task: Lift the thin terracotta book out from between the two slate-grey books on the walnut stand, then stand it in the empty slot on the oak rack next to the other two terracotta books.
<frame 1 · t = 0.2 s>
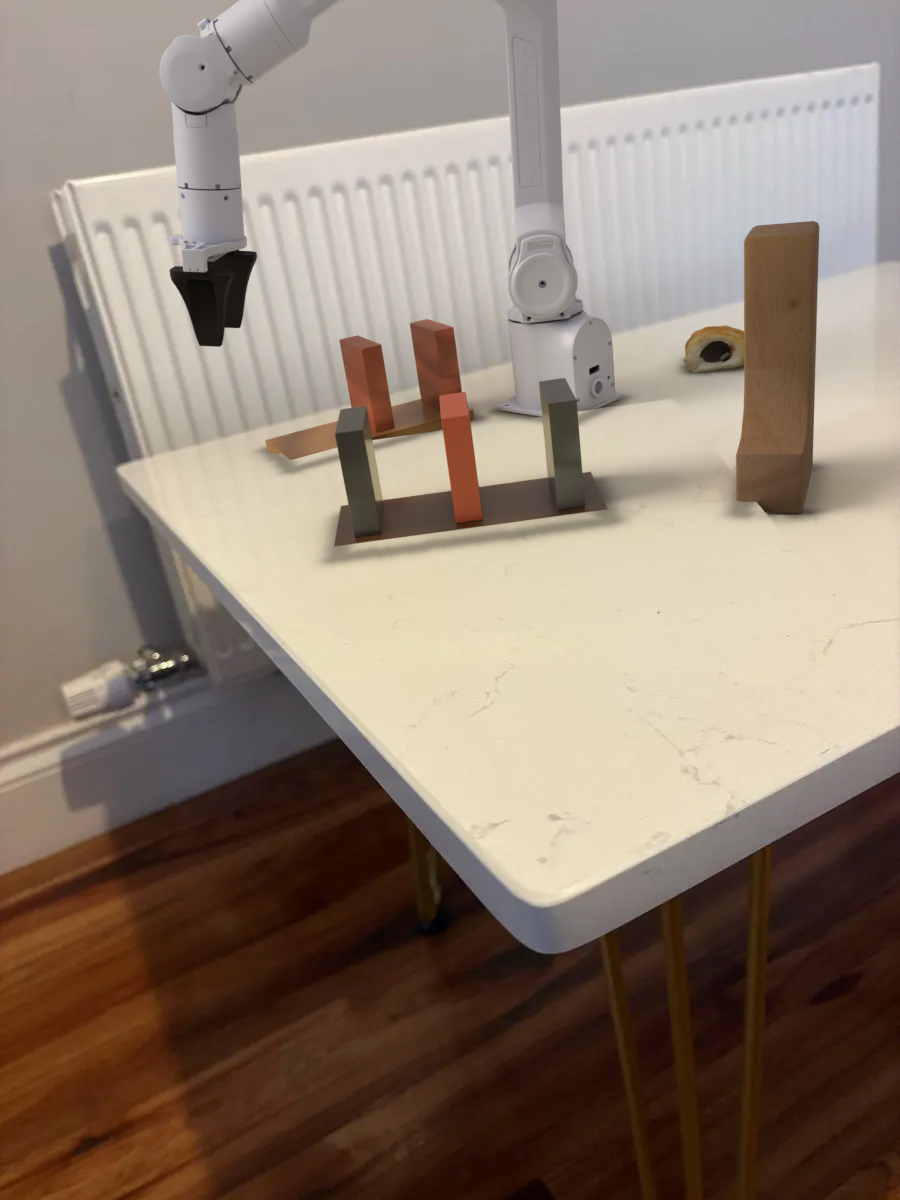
hand: (220, 336, 100), 11 cm above the table, tool pointing down, fingers open, 7 cm apart
grey book stand: (469, 519, 78), on the table
book rack: (375, 433, 101), on the table
terracotta book: (467, 507, 78), point 1 cm above the table, touching grey book stand
pastry: (716, 363, 107), on the table
wooden block: (775, 492, 75), on the table
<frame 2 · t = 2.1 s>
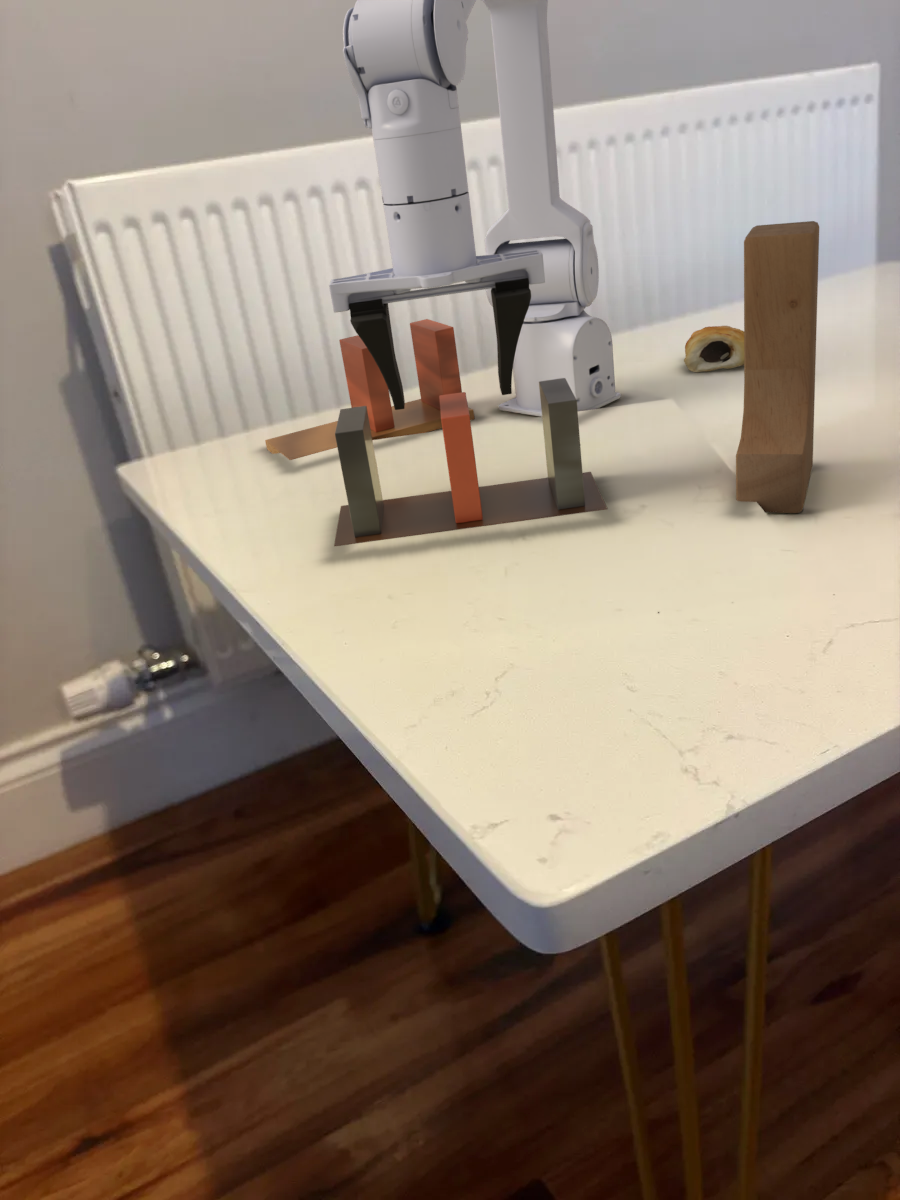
hand: (452, 398, 74), 9 cm above the table, tool pointing down, fingers open, 7 cm apart
nothing on the table moved.
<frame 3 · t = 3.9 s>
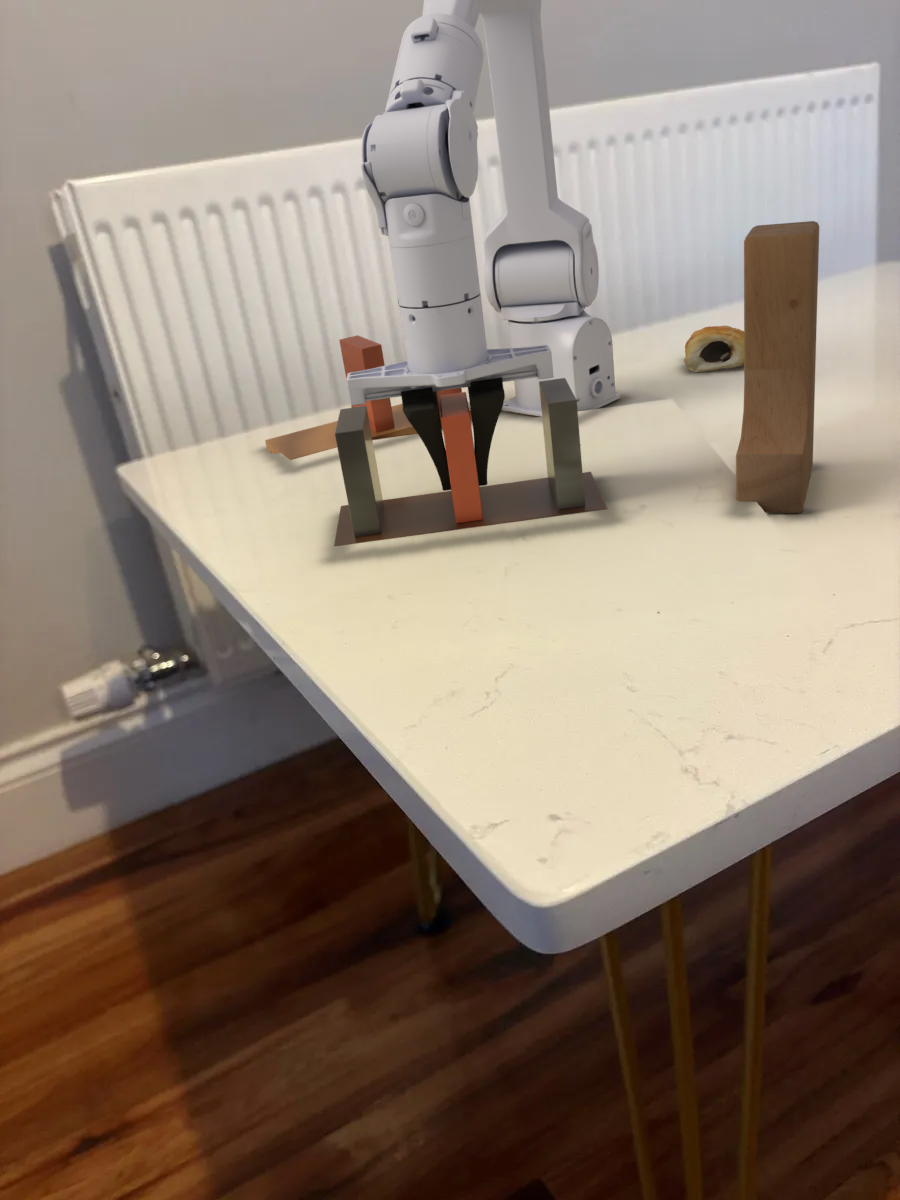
hand: (464, 483, 77), 3 cm above the table, tool pointing down, fingers closed on terracotta book, 2 cm apart
terracotta book: (467, 507, 78), point 1 cm above the table, touching grey book stand, gripper
everything else where it was.
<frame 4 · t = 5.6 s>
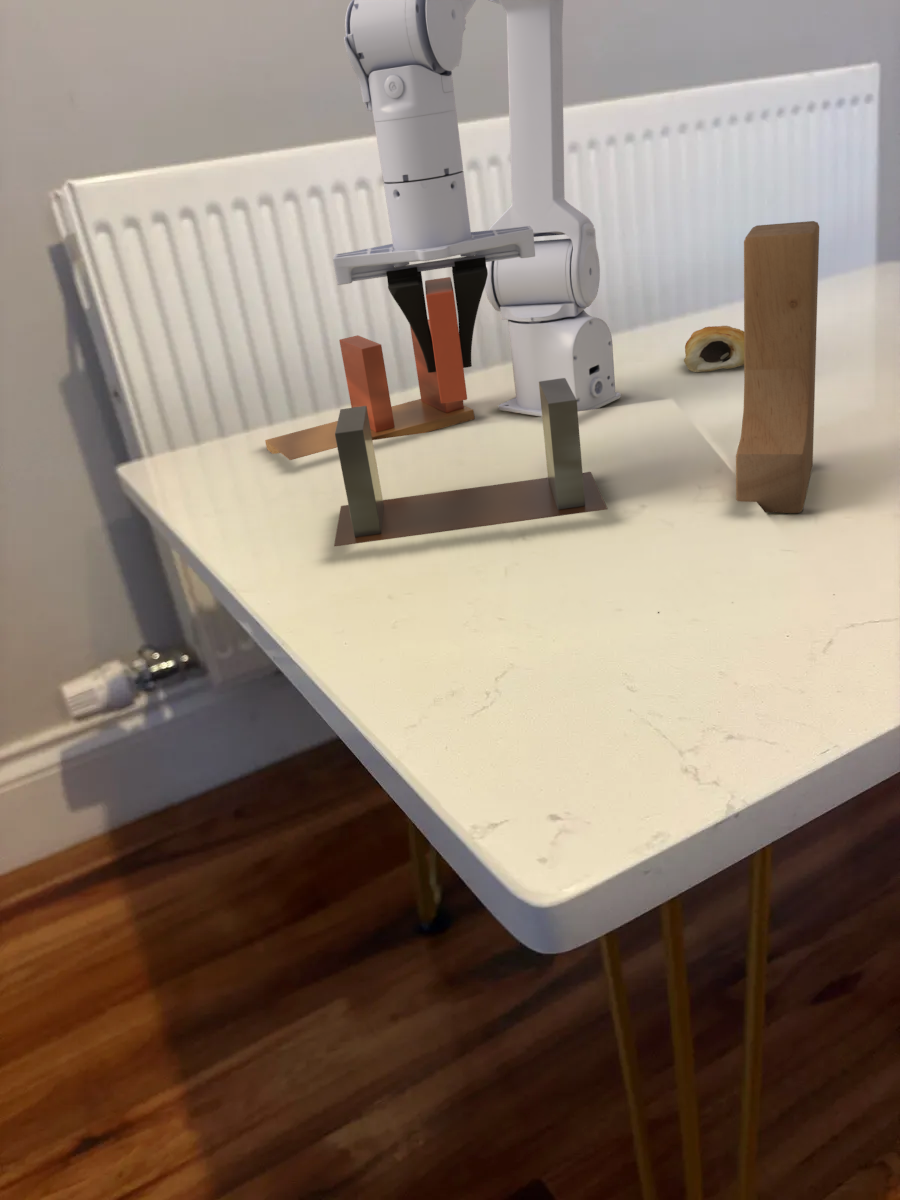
hand: (449, 366, 78), 10 cm above the table, tool pointing down, fingers closed on terracotta book
terracotta book: (452, 391, 79), point 8 cm above the table, touching gripper
everything else where it was.
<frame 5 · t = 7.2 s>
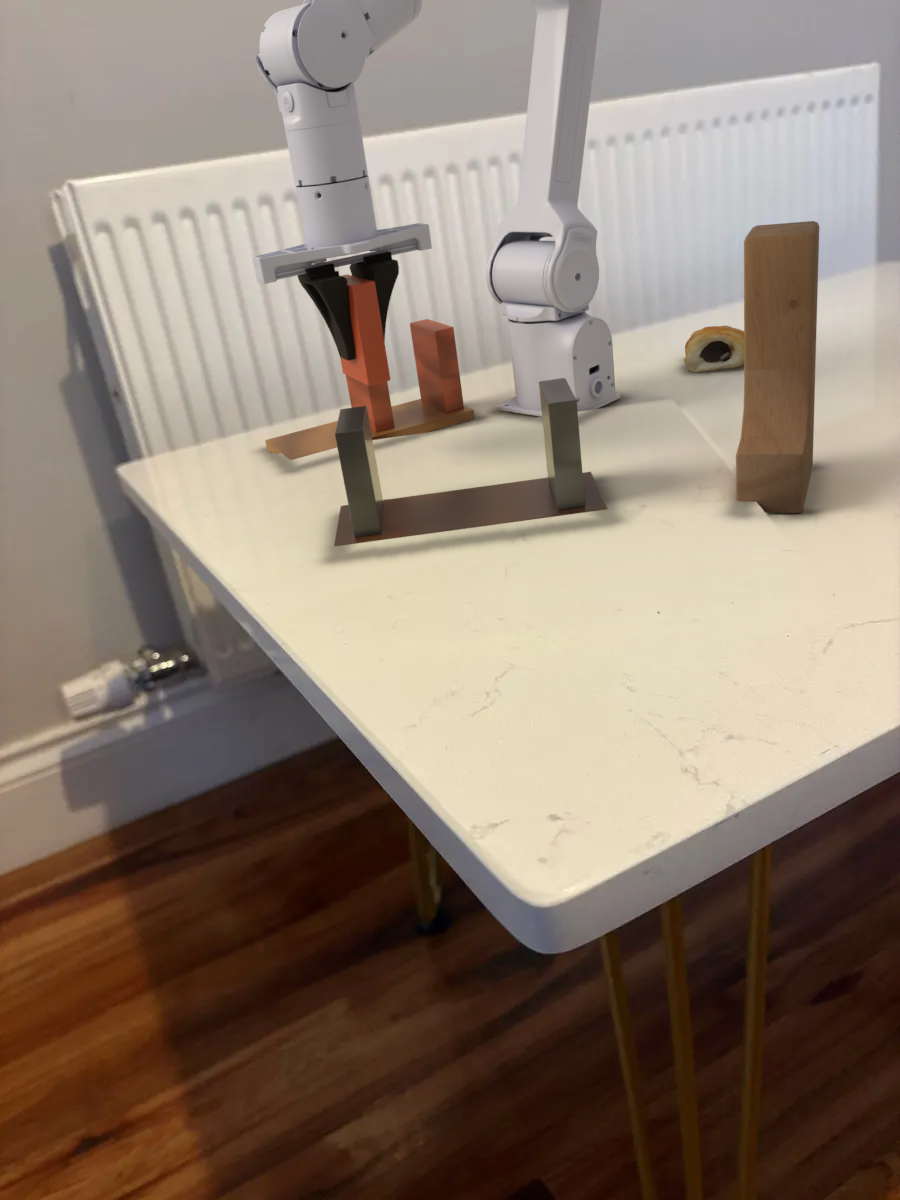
hand: (362, 354, 86), 10 cm above the table, tool pointing down, fingers closed on terracotta book
terracotta book: (366, 376, 87), point 8 cm above the table, touching gripper
everything else where it was.
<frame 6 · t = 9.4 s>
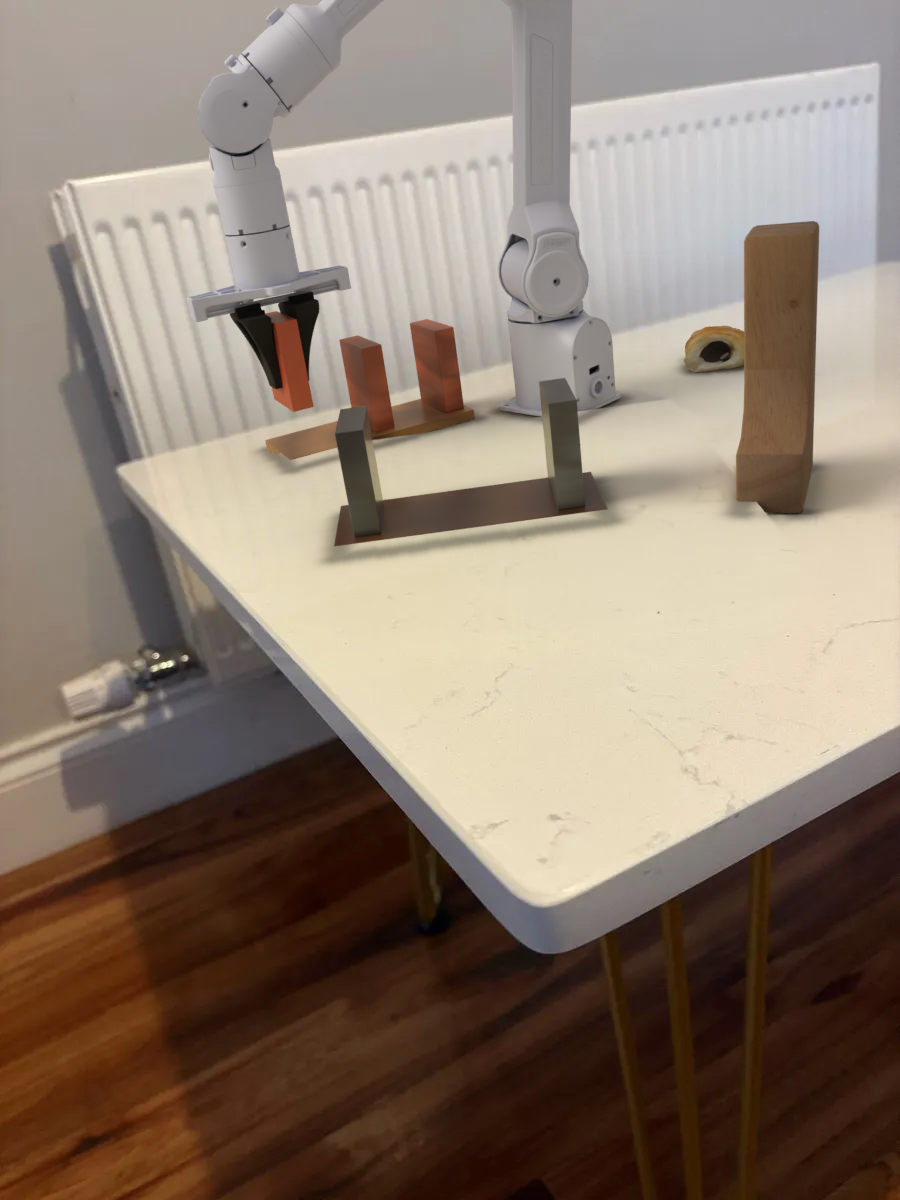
hand: (289, 383, 95), 7 cm above the table, tool pointing down, fingers closed on terracotta book
terracotta book: (293, 403, 96), point 5 cm above the table, touching gripper
everything else where it was.
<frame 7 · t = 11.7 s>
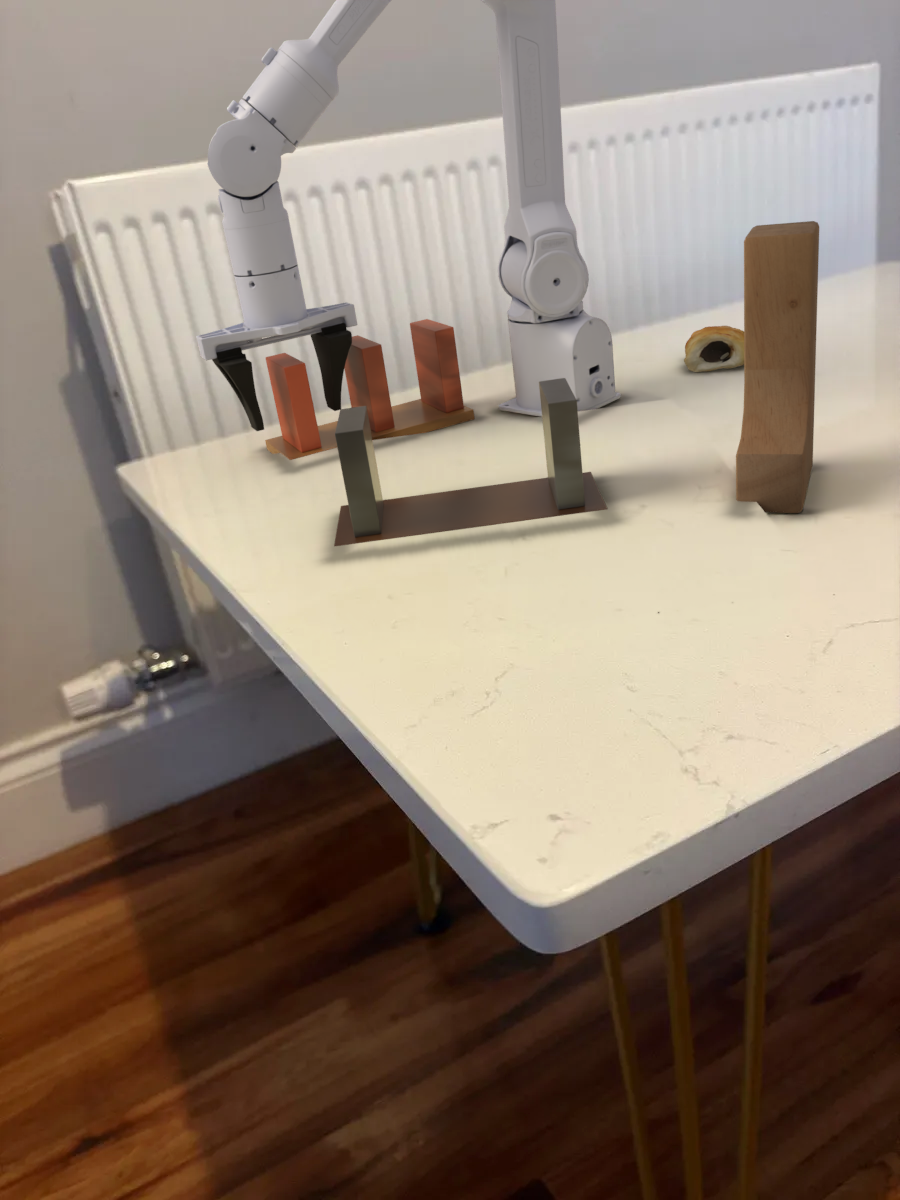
hand: (296, 418, 97), 3 cm above the table, tool pointing down, fingers open, 7 cm apart
terracotta book: (301, 442, 98), point 1 cm above the table, touching book rack
everything else where it was.
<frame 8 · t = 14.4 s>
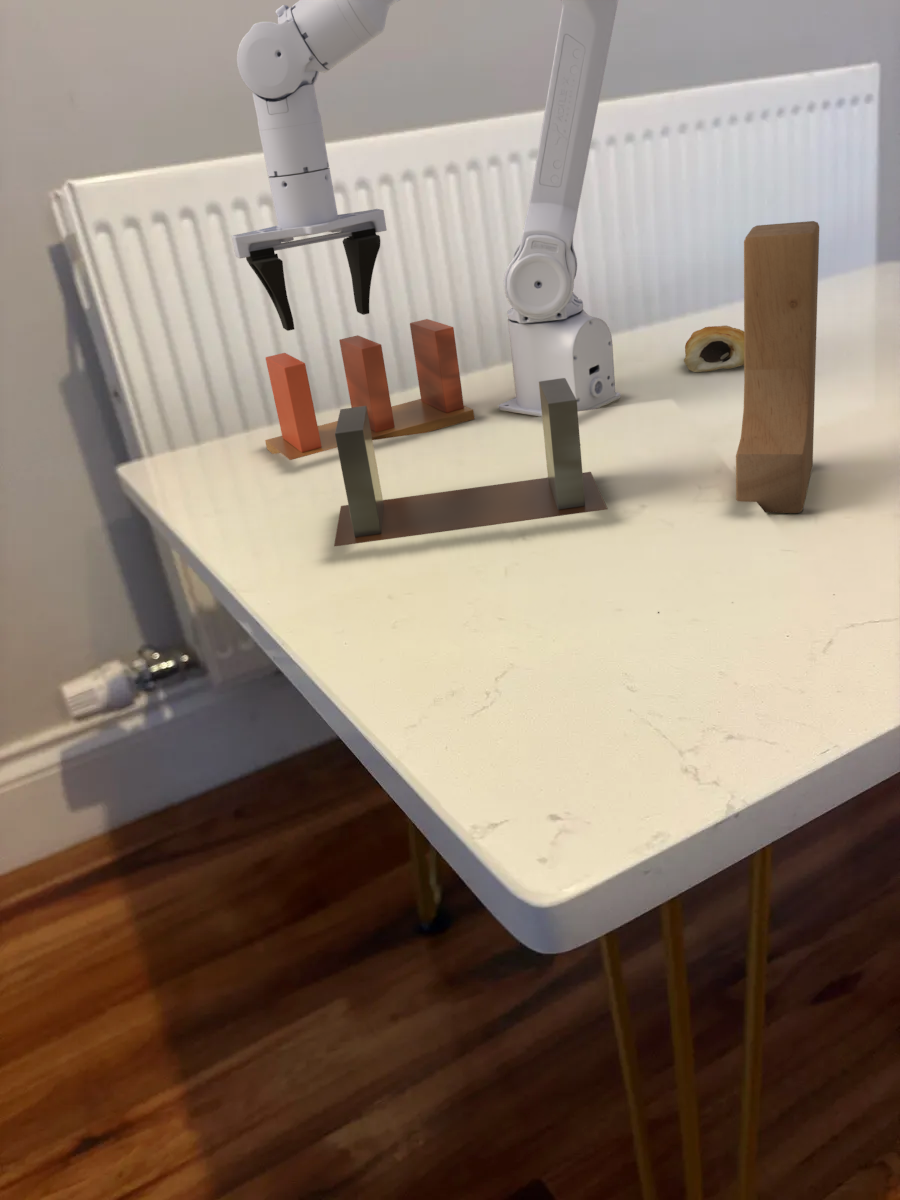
hand: (326, 320, 101), 10 cm above the table, tool pointing down, fingers open, 7 cm apart
nothing on the table moved.
at the end: terracotta book 0.1 cm from the target spot on the book rack, point 1.0 cm above the book rack's base; terracotta book tilted 0°; the gripper is holding nothing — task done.
